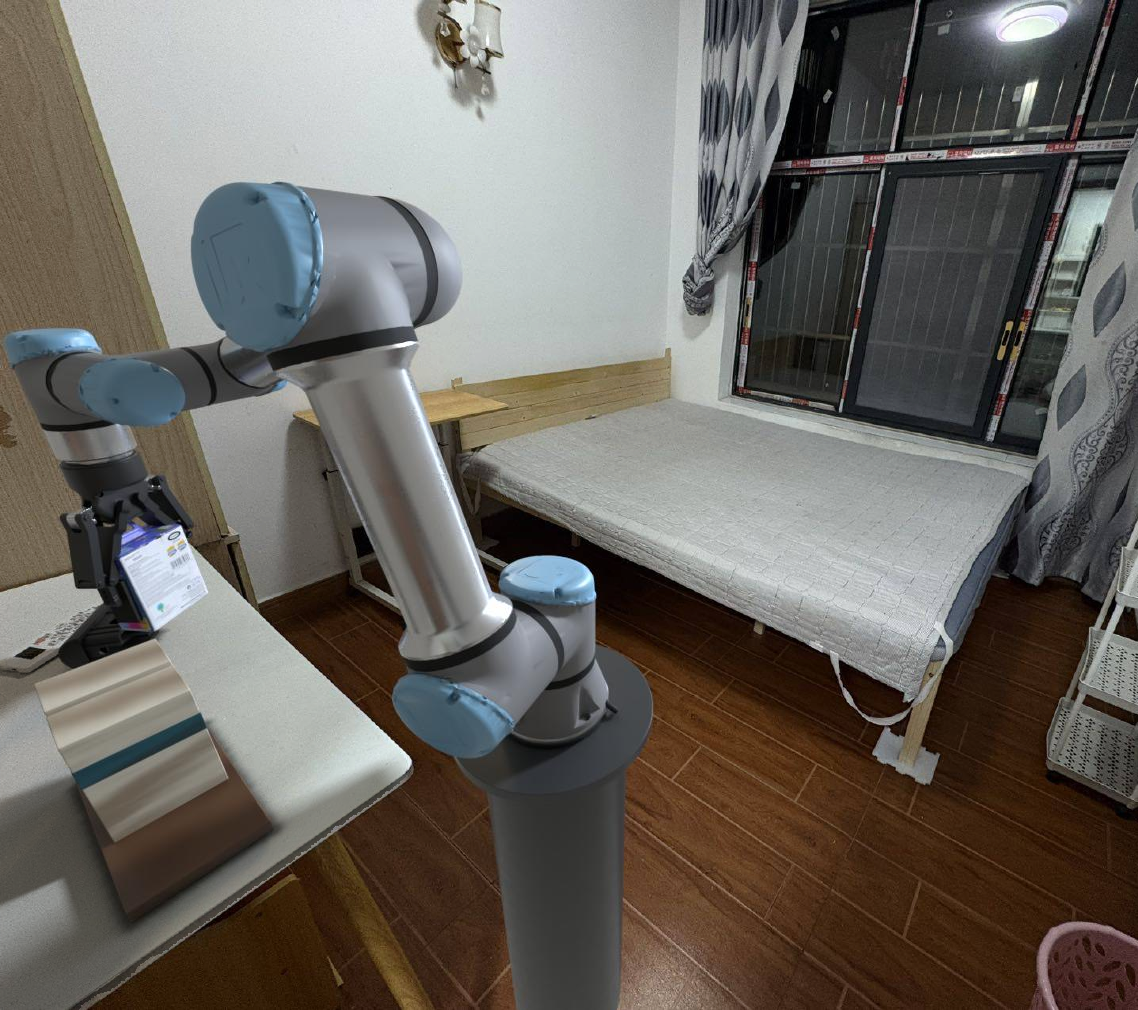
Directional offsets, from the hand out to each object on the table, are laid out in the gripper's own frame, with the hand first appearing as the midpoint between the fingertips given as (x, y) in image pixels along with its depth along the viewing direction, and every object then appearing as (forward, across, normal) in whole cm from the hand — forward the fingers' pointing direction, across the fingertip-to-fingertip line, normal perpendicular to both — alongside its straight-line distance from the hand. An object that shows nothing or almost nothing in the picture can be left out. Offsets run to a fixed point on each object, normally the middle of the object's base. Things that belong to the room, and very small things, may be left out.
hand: (160, 598), depth 80 cm
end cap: (+11, -1, -10) cm, 15 cm away
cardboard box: (+11, +26, +16) cm, 32 cm away
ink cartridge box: (+2, 0, 0) cm, 2 cm away
